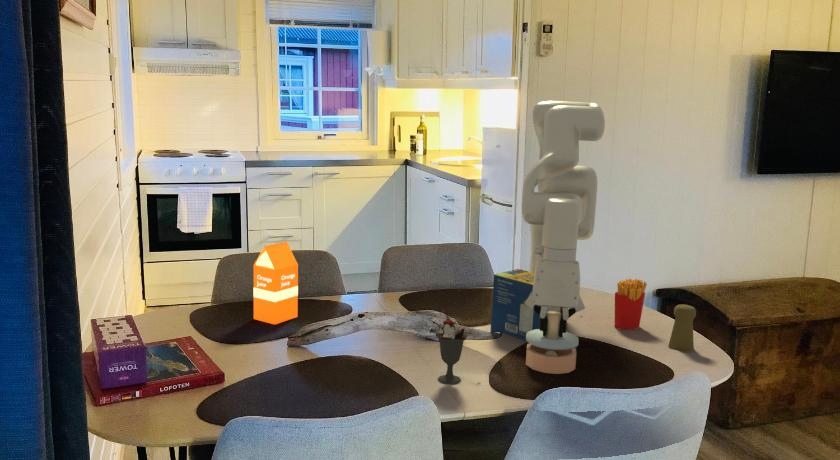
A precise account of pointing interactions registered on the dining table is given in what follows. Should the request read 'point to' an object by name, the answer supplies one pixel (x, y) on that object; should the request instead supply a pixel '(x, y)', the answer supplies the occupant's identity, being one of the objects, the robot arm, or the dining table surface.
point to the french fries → (629, 303)
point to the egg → (551, 353)
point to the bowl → (550, 360)
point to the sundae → (450, 348)
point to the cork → (683, 329)
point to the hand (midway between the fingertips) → (552, 334)
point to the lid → (552, 335)
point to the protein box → (514, 304)
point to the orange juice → (275, 284)
